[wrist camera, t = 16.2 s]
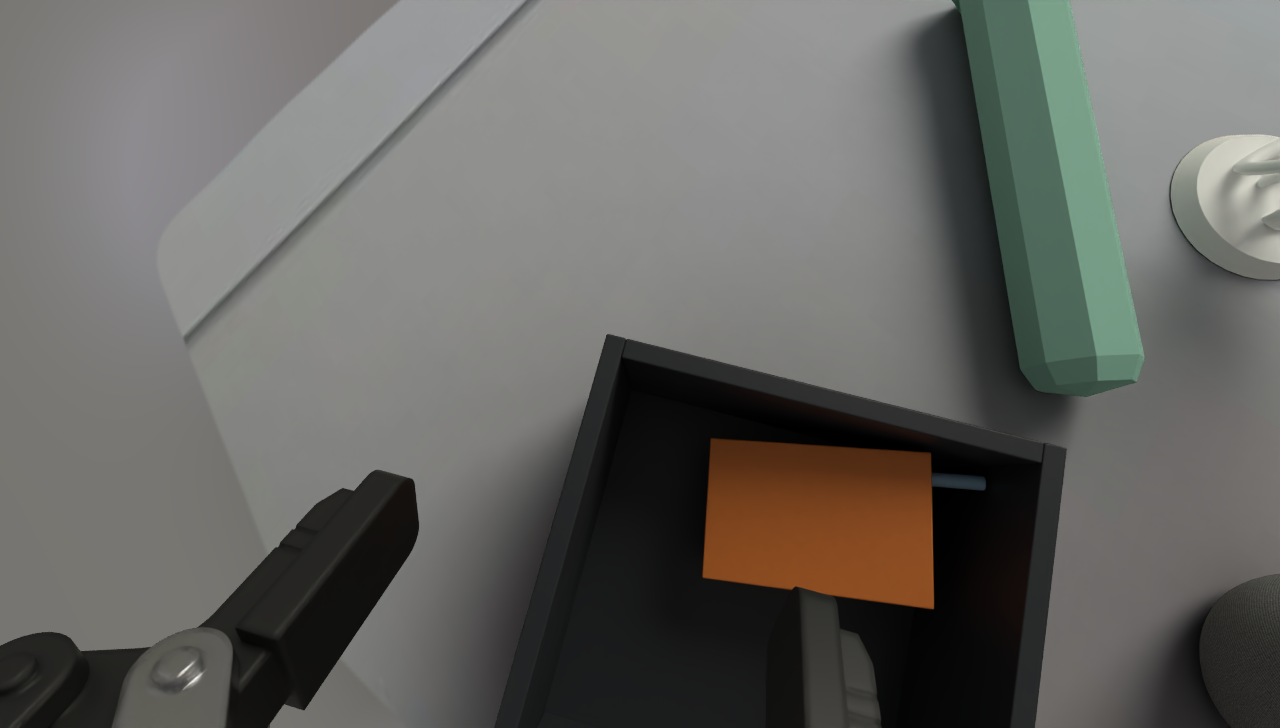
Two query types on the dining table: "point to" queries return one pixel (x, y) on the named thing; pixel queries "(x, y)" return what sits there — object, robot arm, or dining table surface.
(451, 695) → the dining table surface
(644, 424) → the bin
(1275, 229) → the figurine
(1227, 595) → the smart speaker
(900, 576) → the juice box
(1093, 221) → the container
